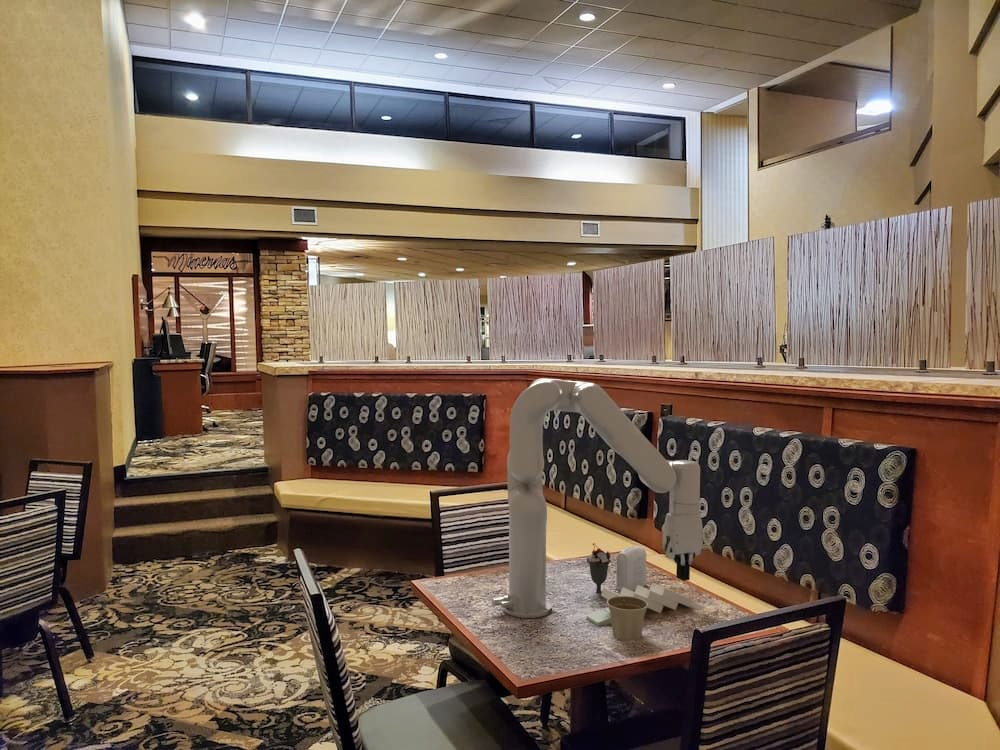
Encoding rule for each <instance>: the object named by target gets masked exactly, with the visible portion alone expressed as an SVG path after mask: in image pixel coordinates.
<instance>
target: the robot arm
mask: <svg viewBox="0 0 1000 750" xmlns="http://www.w3.org/2000/svg"><path fill="white" fill-rule="evenodd" d="M551 411H557V412H569V413H579V414H580V415H581V416H582V417H583V418H584V420H586V422H587V423H588V424H589V426H591V428H592V429H593V430H594V431H595V432H596V433H597V434H598V435H599V437H601V439H602V440H603V442H605V443H606V445H608V446H609V447H610V449H611V450H612V451H614V452H615V453H617V454H618V455H619V456H621V458H623V460H625V461H626V463H628V464H629V466H630V467H632V469H633V470H634V471H635V472H636V473H637V474H638V477H639V480H640V481H641V483H643V484H644V485H645V486H646V487H648V488H649V489H650V490H652V491H653V492H655V493H658V494H659V493H660V494H666V493H668V492H669V508H668V509H669V511H668V512H667V513H666V515H665V520H664V524H663V530H662V531H663V532H662V549H663V551H665V557H666V558H667V559H669V560H673V561H674V563H675V564H676V574H675V575H676V579H678V580H681V581H684V582H686V581H689V580H690V576H691V575H690V574H691V573H690V572H691V571H690V570H691V569H690V568H691V565H692V563H693V560H694V559H695V557H697V556H699V555H701V553H702V552H701V550H703V545H704V530H703V521H702V516H701V513H700V508H702V503H701V502H700V499H701V497H700V496H701V495H700V492H701V488H700V487H701V466H700V464H699V463H698V462H697V461H694V460H687V459H678V460H677V459H676V460H668V459H666V458H665V457H664V456H663V455H662V454H661V452H659V450H658V449H657V448H656V446H654V445H653V444H652V443H651V441H649V439H648V438H647V437H646V436H645V435H644V434H643V433H642V432H641V430H640V429H639V428H638V427H637V426H636V425H635V424H634V423H633V422H632V420H631V419H630V418H629V417H628V415H626V414H625V413H624V412H623V410H622V409H621V408H620V407H619V406H618V405H617V403H616V402H615V401H614V400H613V399H612V398H611V397H610V396H609V394H608V393H607V392H606V391H605V390H604V388H602V387H601V386H600V385H599V384H596V383H594V382H588V381H577V380H576V381H575V380H574V381H573V380H562V379H554V378H546V377H542V378H541V377H540V378H537V379H535V380H533V381H532V382H531V384H530V385H529V386H528V387H527V388H525V389H524V390H523V391H522V392H521V393H520V395H518V397H517V398H516V400H515V402H514V403H513V406H512V408H511V412H510V417H509V452H508V453H507V457H506V459H507V460H506V468H507V469H506V471H507V474H506V475H507V479H506V480H507V500H508V501H507V502H508V519H509V521H508V523H509V524H508V548H509V549H508V561H509V562H508V563H509V565H508V574H509V575H508V584H509V585H508V590H507V591H504V592H505V593H504V594H505V595H502V597H494V598H492V599H491V605H492V607H497V606H500V607H501V609H503V612H505V613H506V614H507V615H509V616H512V617H515V618H522V619H534V618H535V619H536V618H542V617H545V616H547V615H549V614H550V613H551V612H552V610H553V609H552V604H551V602H550V601H548V600H547V524H548V523H547V522H548V505H547V501H546V499H545V496H544V493H543V492H544V491H543V472H544V469H545V459H544V446H543V445H544V444H543V439H544V438H543V437H544V436H543V434H544V432H543V431H544V430H543V428H544V420H545V419H546V416H547V414H549V412H551Z"/></svg>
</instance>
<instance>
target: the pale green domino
mask: <svg viewBox="0 0 1000 750" xmlns="http://www.w3.org/2000/svg"><path fill="white" fill-rule="evenodd" d="M585 617H586V620H588V621H589V622H591V623H593V624H594V625H596V626H598V627H600V626H606V625H610V624H611V625H612V622H611V614H610V610H609V606H607V607H606V608H603V609H600V610H597V611H594V612H593V613H589V614H587V615H586V616H585Z"/></svg>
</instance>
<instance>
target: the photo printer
mask: <svg viewBox="0 0 1000 750" xmlns="http://www.w3.org/2000/svg"><path fill="white" fill-rule="evenodd" d="M637 585H639V586H642V587H645V586H647V551H646V550H645V548H643V547H642V546H637V545H632V546H627V547H626V548H623V550H621V551H619V553H618V554H617V556H616V590H618V592H621V589H622V587H624V588H626V589H628V590H631V591H633V592H634V591H635V590H636V588H637Z"/></svg>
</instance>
